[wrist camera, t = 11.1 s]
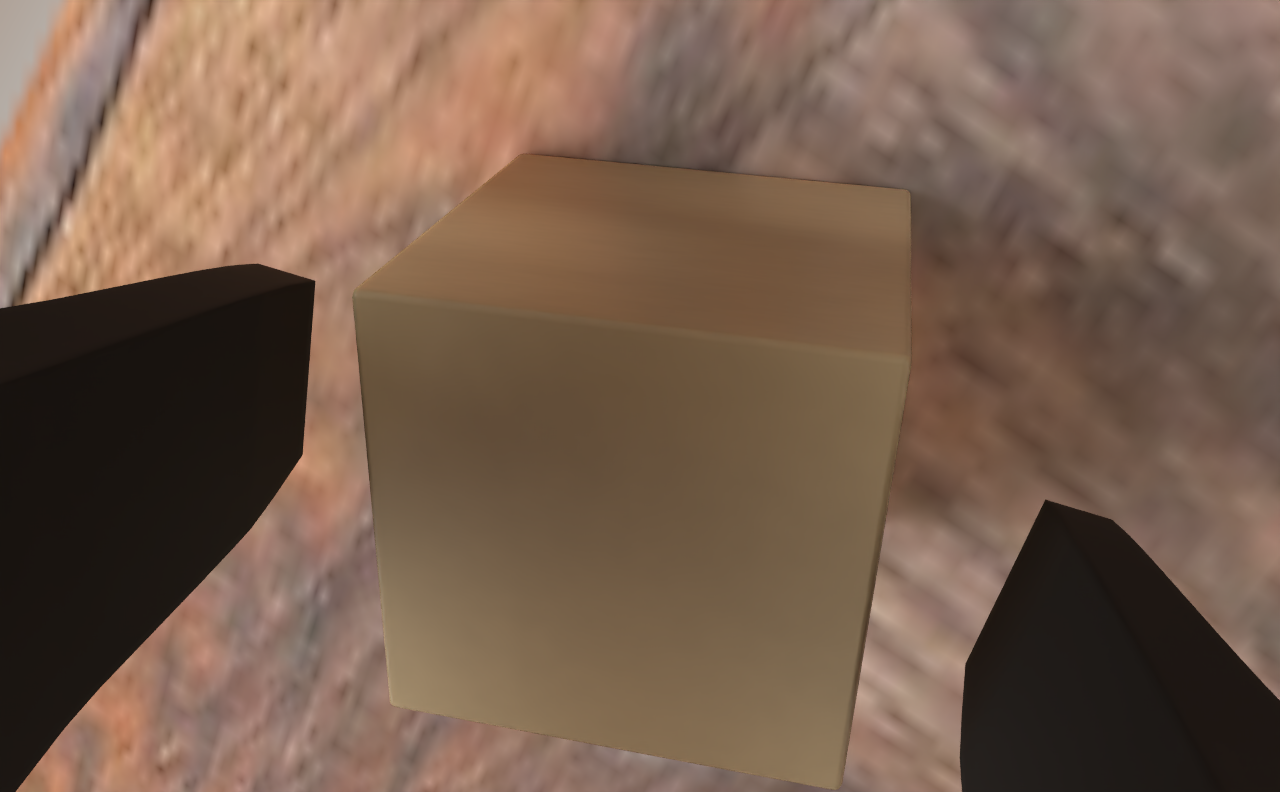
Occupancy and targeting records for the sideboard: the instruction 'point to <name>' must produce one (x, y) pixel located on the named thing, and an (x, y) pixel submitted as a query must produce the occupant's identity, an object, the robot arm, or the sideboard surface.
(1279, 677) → the sideboard surface
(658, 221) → the block
